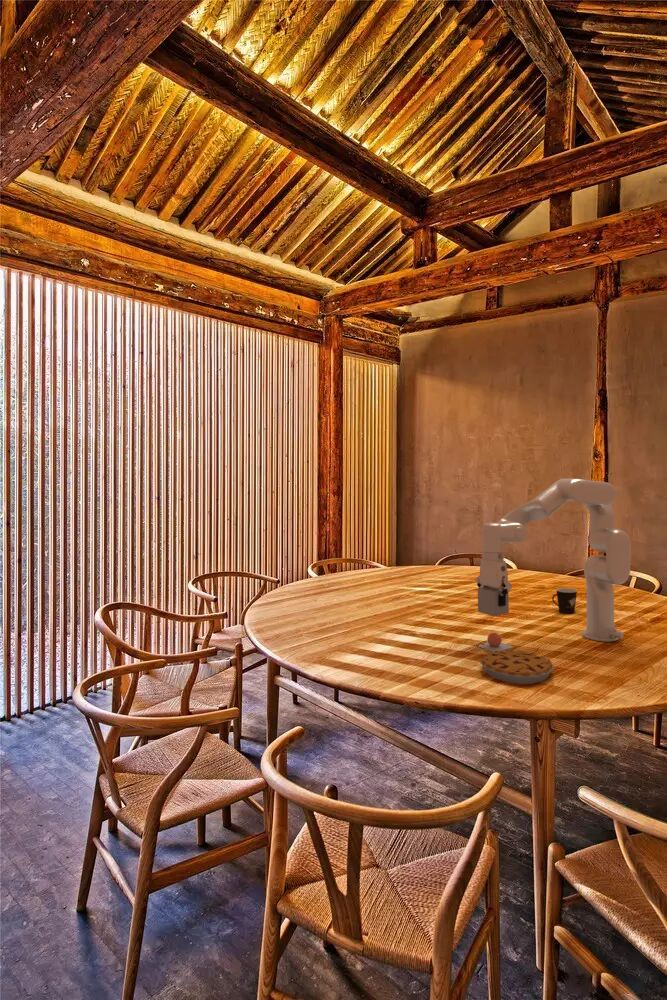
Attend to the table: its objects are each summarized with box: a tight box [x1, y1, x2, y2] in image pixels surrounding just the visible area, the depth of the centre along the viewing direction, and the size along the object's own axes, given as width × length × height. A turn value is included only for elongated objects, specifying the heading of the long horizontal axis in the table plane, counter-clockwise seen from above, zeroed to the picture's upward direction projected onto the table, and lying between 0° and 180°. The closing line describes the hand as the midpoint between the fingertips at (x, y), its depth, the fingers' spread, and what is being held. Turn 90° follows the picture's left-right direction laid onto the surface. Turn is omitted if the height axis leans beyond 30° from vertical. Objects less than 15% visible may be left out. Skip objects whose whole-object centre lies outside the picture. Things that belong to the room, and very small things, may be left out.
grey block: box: [477, 587, 510, 617], centre depth 199 cm, size 8×8×9 cm
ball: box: [486, 632, 502, 647], centre depth 199 cm, size 5×5×5 cm
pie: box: [480, 649, 554, 685], centre depth 173 cm, size 22×22×5 cm
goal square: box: [474, 641, 515, 653], centre depth 200 cm, size 10×10×1 cm
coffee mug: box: [551, 587, 578, 615], centre depth 244 cm, size 12×9×10 cm
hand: (493, 603), depth 199 cm, fingers closed on grey block, 7 cm apart
